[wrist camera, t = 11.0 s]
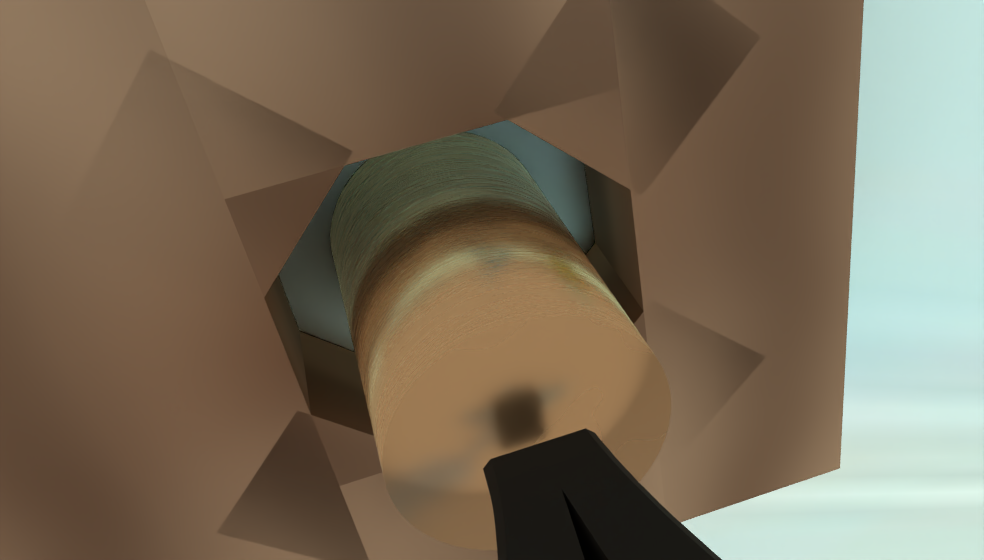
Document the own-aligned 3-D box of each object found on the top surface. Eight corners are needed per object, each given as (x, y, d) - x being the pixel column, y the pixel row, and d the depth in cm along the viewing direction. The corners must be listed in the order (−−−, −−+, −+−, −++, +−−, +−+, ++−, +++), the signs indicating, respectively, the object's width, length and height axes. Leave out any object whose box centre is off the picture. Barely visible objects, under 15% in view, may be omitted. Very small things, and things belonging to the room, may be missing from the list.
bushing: (363, 346, 18) (422, 584, 13) (302, 167, 16) (345, 375, 11) (554, 285, 18) (681, 495, 14) (521, 104, 16) (658, 276, 11)
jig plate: (-76, 676, 20) (-110, 789, 18) (-652, 60, 12) (-836, 137, 10) (781, 396, 22) (840, 468, 20) (780, -282, 14) (878, -279, 12)
